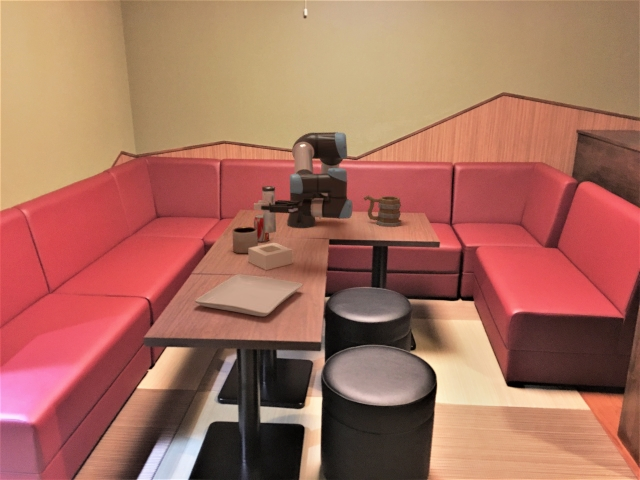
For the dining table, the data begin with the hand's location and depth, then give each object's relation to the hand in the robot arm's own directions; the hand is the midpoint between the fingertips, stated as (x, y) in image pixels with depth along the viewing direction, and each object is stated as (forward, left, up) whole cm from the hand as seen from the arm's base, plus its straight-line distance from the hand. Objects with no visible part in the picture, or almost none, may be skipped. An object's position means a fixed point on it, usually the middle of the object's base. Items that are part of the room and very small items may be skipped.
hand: (256, 205), depth 210 cm
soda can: (-18, -26, -24) cm, 40 cm away
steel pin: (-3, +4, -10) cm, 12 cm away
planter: (-4, -17, -24) cm, 30 cm away
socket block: (-3, +4, -24) cm, 25 cm away
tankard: (-86, -14, -24) cm, 91 cm away
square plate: (+24, +33, -25) cm, 47 cm away
